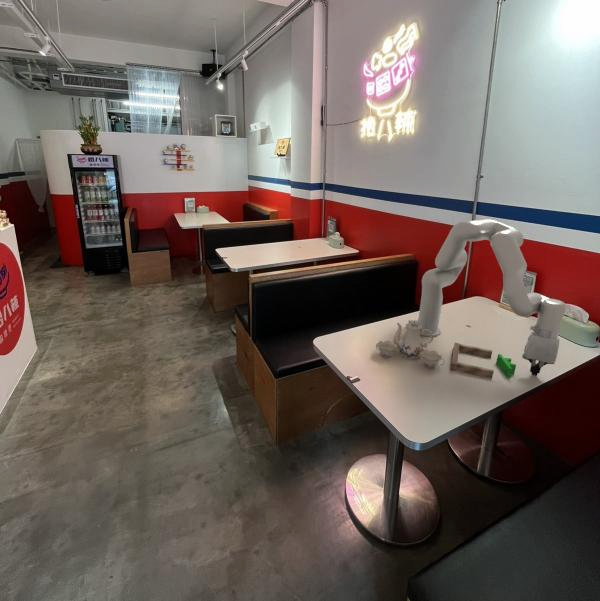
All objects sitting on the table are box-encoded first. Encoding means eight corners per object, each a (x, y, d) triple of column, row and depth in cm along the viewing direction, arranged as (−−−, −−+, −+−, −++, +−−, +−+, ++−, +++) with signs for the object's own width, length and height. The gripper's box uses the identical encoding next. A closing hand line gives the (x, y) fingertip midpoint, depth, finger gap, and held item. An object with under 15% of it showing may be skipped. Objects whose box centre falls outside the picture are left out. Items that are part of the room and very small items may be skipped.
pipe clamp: (516, 379, 142) (519, 369, 140) (506, 378, 142) (509, 368, 141) (505, 364, 152) (507, 354, 151) (495, 363, 153) (498, 353, 151)
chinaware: (372, 362, 154) (375, 329, 147) (378, 342, 168) (381, 310, 161) (442, 376, 145) (449, 341, 138) (443, 353, 159) (449, 320, 152)
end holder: (450, 369, 147) (451, 363, 146) (453, 348, 164) (454, 342, 163) (492, 379, 141) (493, 372, 140) (490, 355, 158) (492, 349, 157)
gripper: (524, 331, 137) (513, 374, 143) (572, 339, 131) (558, 383, 138) (522, 324, 143) (511, 365, 150) (567, 331, 137) (554, 373, 144)
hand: (533, 373), depth 144 cm, fingers closed
